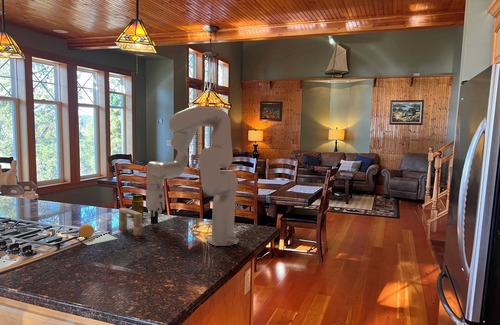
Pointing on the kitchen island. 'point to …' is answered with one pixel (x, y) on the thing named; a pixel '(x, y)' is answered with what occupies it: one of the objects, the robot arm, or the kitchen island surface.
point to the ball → (86, 231)
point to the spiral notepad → (100, 239)
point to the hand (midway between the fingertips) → (154, 223)
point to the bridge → (137, 220)
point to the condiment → (137, 205)
